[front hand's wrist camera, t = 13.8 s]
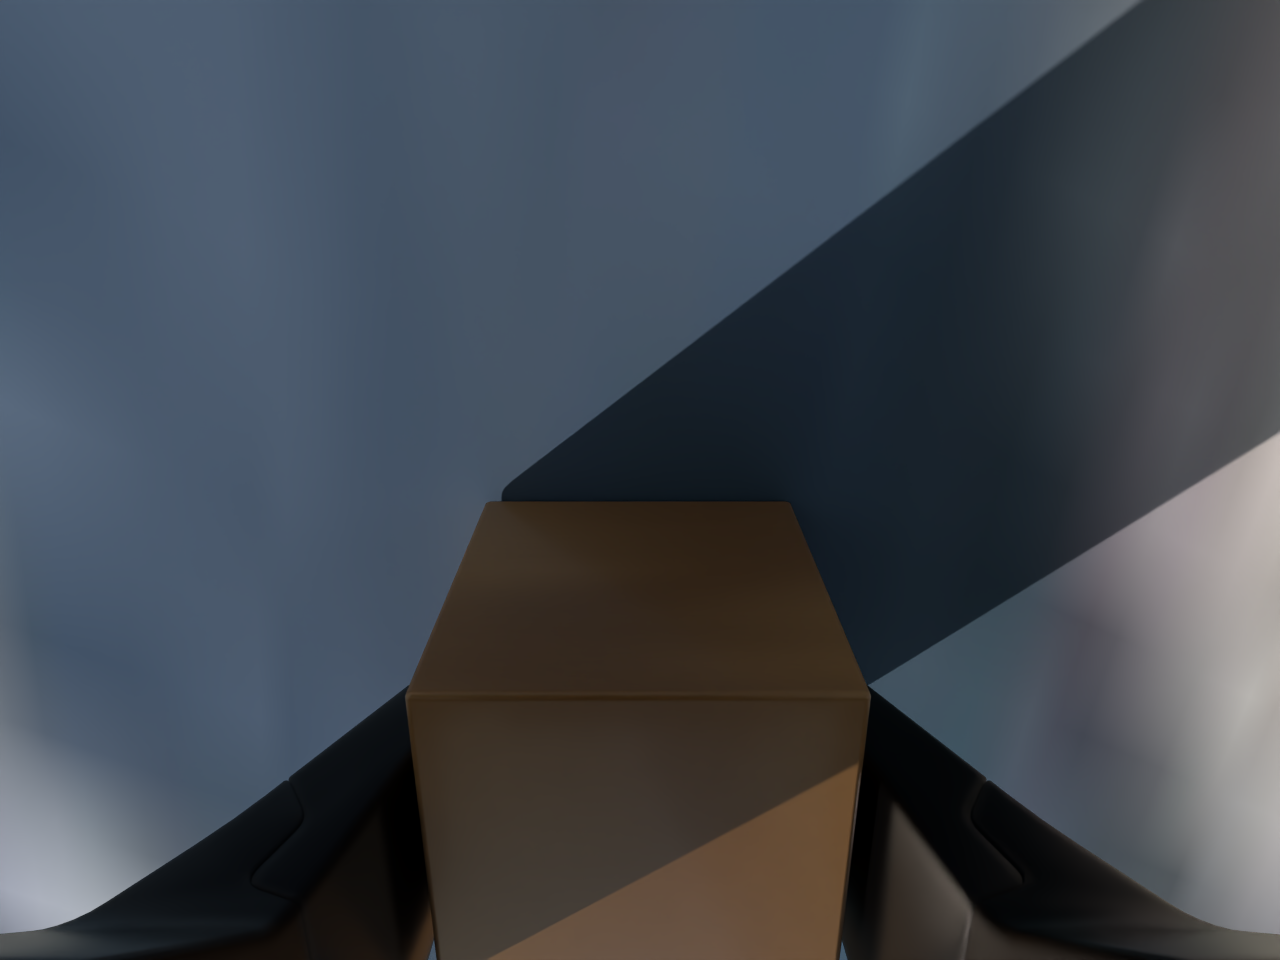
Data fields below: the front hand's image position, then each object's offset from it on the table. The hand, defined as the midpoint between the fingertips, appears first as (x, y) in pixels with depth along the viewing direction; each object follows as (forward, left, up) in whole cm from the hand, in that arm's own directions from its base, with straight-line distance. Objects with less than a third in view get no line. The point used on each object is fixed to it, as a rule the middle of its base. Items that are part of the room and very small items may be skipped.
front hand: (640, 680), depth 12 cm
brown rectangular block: (0, 0, -1) cm, 1 cm away
